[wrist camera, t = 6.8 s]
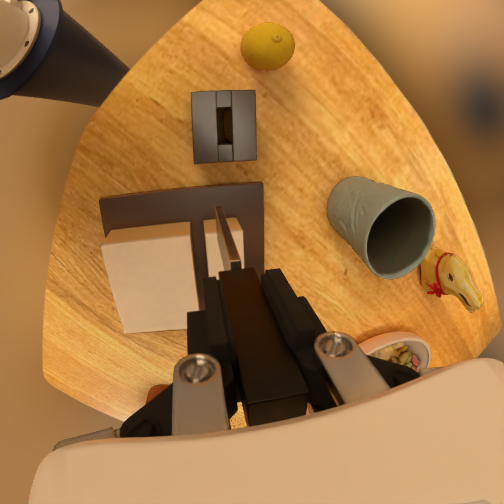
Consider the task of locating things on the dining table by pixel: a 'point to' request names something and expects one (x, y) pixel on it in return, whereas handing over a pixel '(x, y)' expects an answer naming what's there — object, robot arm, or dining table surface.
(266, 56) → the lemon
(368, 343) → the bowl
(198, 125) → the knife block
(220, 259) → the cake slice
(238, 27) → the dining table surface
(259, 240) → the cake board
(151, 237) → the cake
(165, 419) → the robot arm
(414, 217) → the grey green embossed vase
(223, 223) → the knife
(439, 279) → the chocolate bunny
